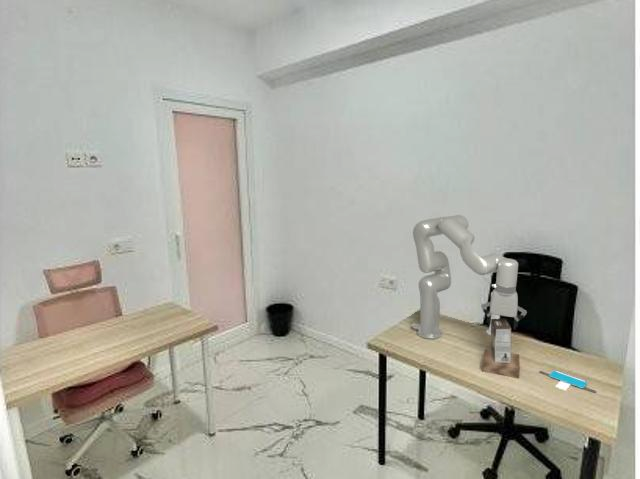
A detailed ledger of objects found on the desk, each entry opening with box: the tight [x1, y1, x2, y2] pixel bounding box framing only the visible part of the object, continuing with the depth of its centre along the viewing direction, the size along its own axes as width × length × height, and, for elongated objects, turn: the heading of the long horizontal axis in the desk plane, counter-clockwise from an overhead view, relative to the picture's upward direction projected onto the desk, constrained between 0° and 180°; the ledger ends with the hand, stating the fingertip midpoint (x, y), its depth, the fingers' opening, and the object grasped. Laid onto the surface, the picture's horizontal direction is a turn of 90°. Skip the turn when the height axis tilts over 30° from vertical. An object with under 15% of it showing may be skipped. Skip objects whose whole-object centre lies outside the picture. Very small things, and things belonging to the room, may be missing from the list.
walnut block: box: [481, 348, 521, 380], centre depth 166 cm, size 14×12×5 cm
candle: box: [485, 291, 501, 336], centre depth 194 cm, size 7×7×25 cm
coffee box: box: [490, 318, 512, 363], centre depth 164 cm, size 9×6×16 cm
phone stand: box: [539, 369, 597, 394], centre depth 154 cm, size 20×12×2 cm, turn 41°
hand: (501, 326), depth 163 cm, fingers open, 9 cm apart
